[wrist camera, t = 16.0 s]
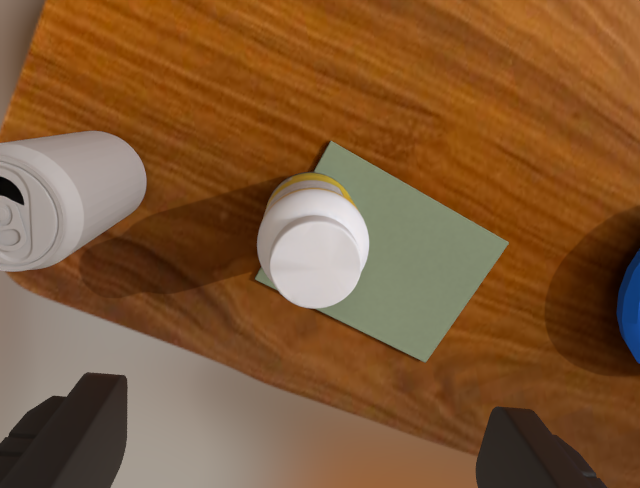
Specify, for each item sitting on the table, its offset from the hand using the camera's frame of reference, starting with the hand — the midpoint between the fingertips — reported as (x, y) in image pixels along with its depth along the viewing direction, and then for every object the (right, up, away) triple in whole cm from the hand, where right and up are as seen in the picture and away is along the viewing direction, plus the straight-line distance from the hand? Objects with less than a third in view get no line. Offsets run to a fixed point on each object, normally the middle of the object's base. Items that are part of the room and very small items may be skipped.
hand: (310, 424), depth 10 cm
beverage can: (-15, +9, +23) cm, 29 cm away
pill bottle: (-1, +6, +24) cm, 25 cm away
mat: (+5, +3, +25) cm, 26 cm away
